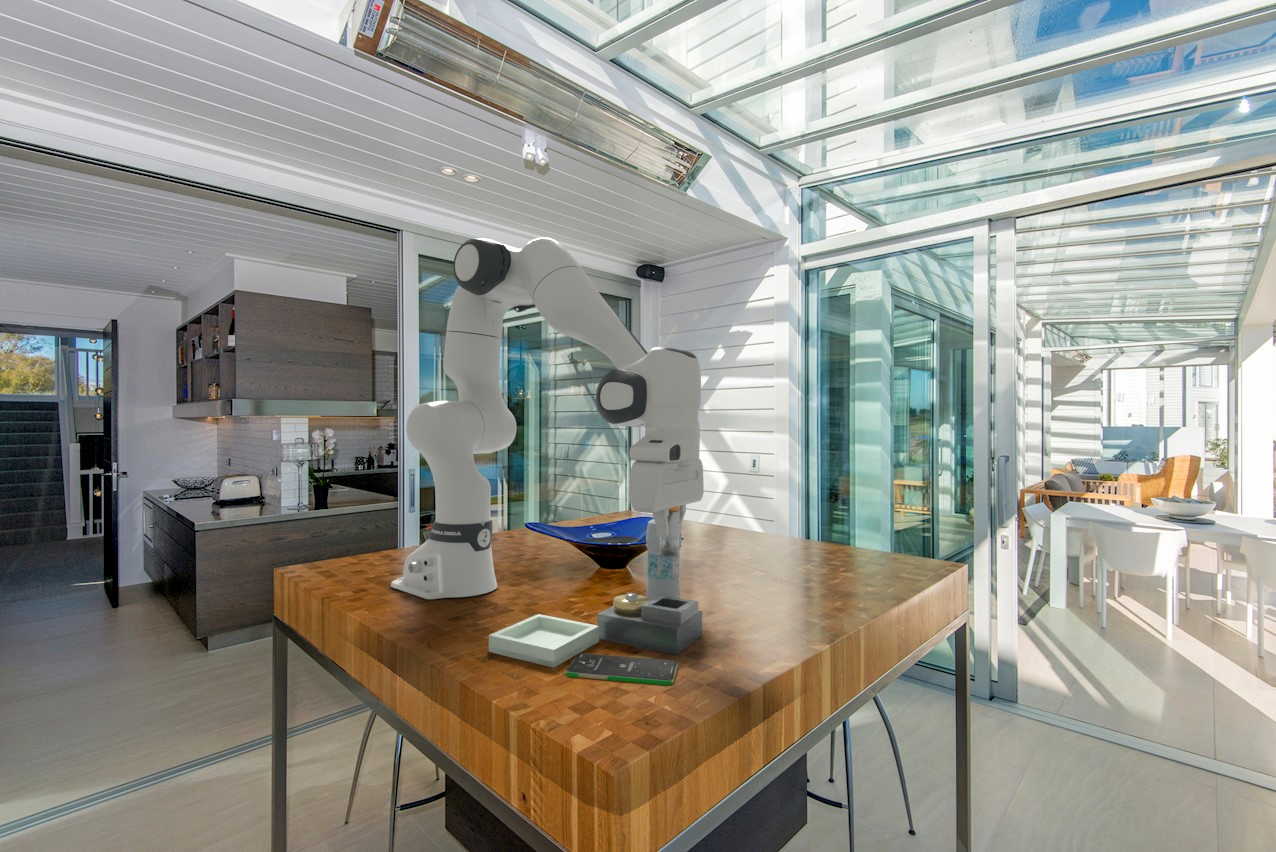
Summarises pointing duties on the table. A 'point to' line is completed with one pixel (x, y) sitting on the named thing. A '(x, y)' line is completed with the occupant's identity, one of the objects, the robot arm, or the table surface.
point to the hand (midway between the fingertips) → (669, 534)
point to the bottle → (661, 567)
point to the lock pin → (671, 534)
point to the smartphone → (623, 669)
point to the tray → (544, 640)
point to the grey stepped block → (651, 622)
